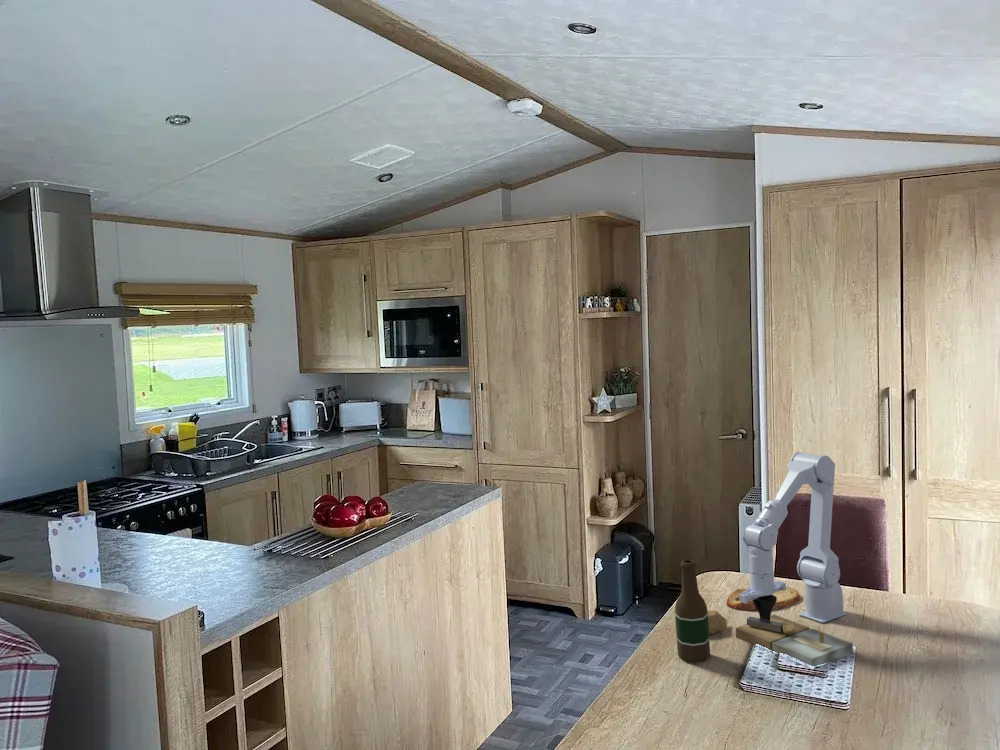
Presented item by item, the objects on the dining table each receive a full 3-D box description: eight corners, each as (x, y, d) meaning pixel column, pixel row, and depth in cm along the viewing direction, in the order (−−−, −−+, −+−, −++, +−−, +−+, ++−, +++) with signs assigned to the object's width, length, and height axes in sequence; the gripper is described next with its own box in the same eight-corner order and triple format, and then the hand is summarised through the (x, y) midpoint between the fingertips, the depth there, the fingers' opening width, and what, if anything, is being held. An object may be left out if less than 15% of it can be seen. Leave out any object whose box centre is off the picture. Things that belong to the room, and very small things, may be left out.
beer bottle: (711, 664, 193) (705, 566, 192) (678, 663, 195) (671, 566, 193) (709, 650, 201) (703, 556, 199) (677, 650, 203) (671, 556, 201)
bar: (796, 632, 201) (795, 622, 201) (791, 636, 199) (791, 626, 199) (751, 623, 209) (750, 613, 209) (746, 627, 207) (745, 617, 207)
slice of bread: (803, 595, 233) (802, 583, 233) (788, 617, 218) (787, 604, 218) (741, 588, 243) (740, 576, 243) (722, 609, 228) (722, 596, 228)
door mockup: (774, 623, 214) (773, 606, 214) (852, 653, 193) (851, 633, 193) (735, 637, 207) (734, 619, 207) (812, 669, 186) (811, 649, 186)
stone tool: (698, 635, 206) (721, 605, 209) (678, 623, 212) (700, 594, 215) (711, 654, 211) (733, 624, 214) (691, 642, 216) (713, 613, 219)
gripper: (769, 561, 213) (773, 611, 214) (729, 574, 206) (732, 626, 207) (791, 567, 206) (794, 619, 208) (750, 581, 200) (753, 634, 201)
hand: (765, 623), depth 207 cm, fingers closed, pressing on bar
